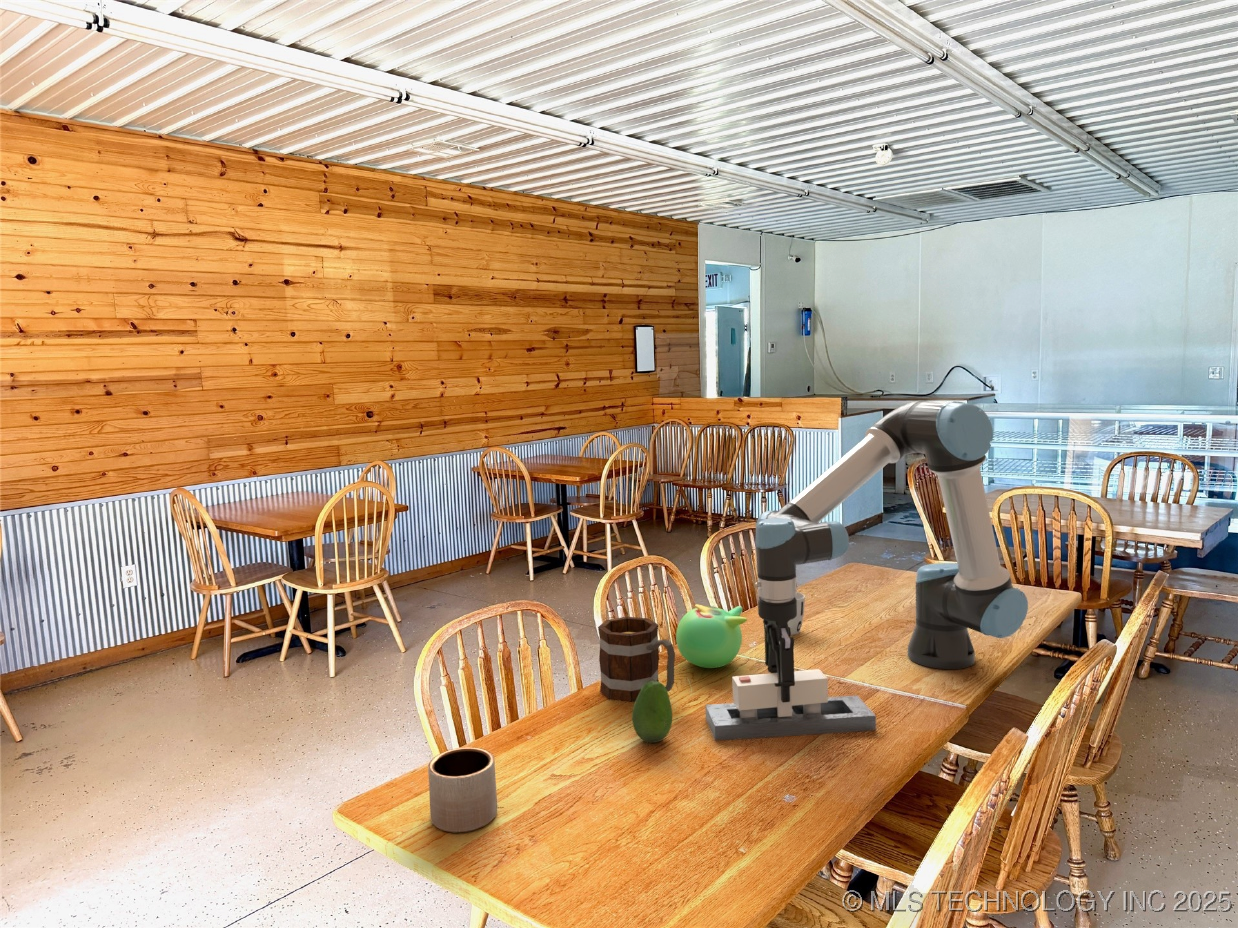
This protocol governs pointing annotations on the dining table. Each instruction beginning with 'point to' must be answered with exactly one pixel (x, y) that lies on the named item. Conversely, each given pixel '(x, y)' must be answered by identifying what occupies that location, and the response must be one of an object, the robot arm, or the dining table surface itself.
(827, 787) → the dining table surface
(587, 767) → the dining table surface
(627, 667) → the mug
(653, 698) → the fruit
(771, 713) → the keyhole plate
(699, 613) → the toy bird
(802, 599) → the cup
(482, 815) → the planter
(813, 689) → the cream block with pegs
